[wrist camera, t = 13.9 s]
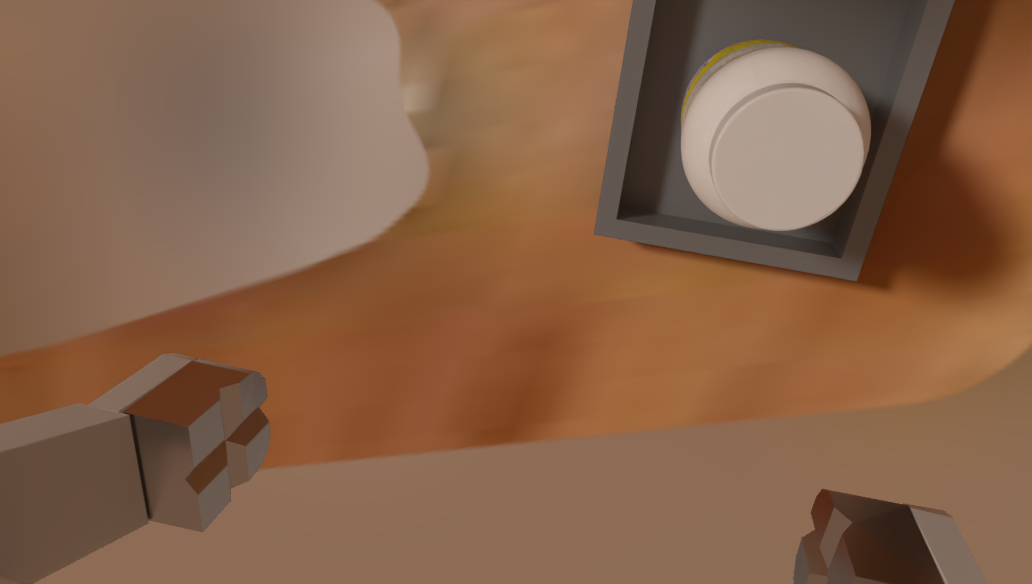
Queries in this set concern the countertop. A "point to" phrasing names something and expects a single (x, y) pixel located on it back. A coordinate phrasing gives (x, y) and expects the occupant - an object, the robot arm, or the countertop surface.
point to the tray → (658, 104)
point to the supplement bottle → (773, 135)
